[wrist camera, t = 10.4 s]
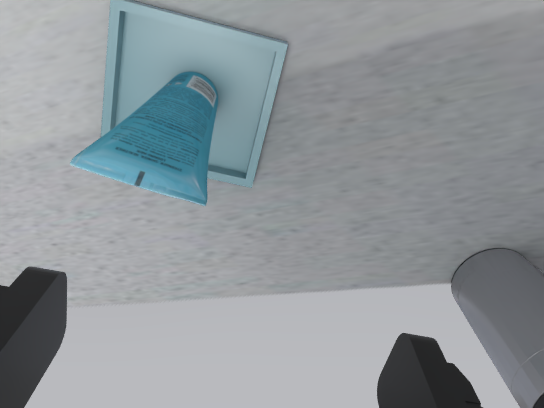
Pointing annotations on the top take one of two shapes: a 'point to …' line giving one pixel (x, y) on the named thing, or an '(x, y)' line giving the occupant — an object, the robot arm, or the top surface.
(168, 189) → the tube
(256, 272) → the top surface
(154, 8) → the tray
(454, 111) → the top surface
